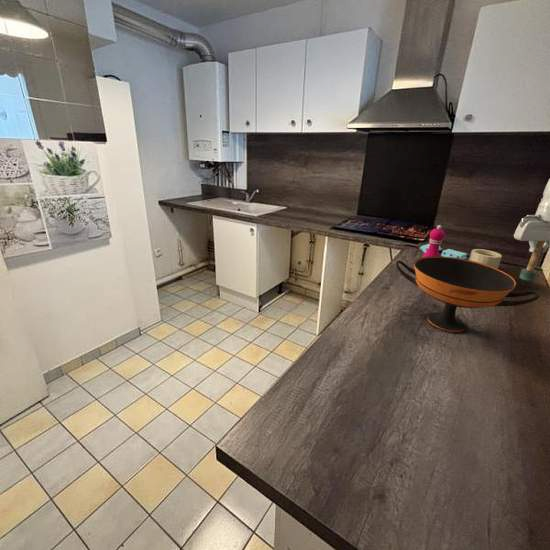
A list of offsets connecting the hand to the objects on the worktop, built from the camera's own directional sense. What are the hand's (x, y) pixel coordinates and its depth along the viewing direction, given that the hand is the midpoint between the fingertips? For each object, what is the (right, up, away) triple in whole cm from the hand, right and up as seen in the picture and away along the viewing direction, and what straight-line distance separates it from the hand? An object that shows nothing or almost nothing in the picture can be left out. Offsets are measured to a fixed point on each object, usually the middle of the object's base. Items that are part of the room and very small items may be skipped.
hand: (537, 251), depth 110 cm
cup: (-46, -24, -19) cm, 55 cm away
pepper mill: (-28, -6, +25) cm, 38 cm away
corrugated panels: (-7, -1, +38) cm, 39 cm away
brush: (0, -10, +4) cm, 11 cm away
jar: (-10, -10, +17) cm, 22 cm away
